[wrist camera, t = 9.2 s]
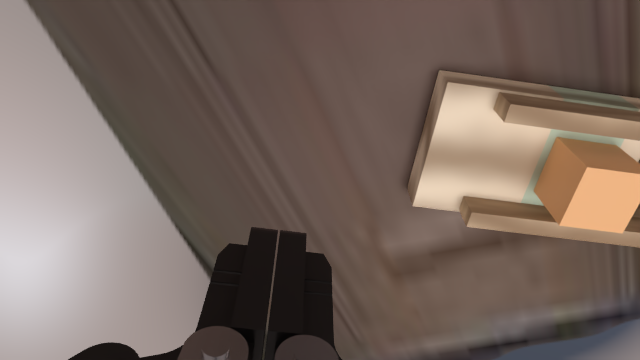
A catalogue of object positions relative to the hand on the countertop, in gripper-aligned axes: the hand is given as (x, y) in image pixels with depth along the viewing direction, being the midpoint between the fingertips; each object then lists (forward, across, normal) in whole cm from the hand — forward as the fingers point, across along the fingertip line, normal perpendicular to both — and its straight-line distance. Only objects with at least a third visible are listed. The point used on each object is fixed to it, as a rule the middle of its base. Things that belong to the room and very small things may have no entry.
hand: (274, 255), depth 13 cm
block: (+24, -23, +7) cm, 34 cm away
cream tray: (+27, -22, +7) cm, 36 cm away
